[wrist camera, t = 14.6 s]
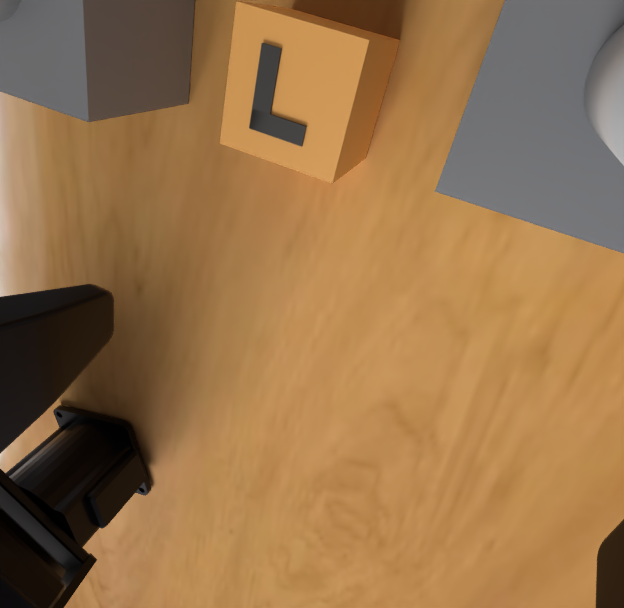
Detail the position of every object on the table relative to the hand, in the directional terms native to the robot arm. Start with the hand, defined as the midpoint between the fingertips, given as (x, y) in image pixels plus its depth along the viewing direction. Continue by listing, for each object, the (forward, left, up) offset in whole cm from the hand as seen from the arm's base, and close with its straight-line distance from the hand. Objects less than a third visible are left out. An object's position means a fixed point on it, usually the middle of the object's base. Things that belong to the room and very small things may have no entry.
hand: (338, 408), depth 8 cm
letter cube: (-4, +4, -12) cm, 13 cm away
